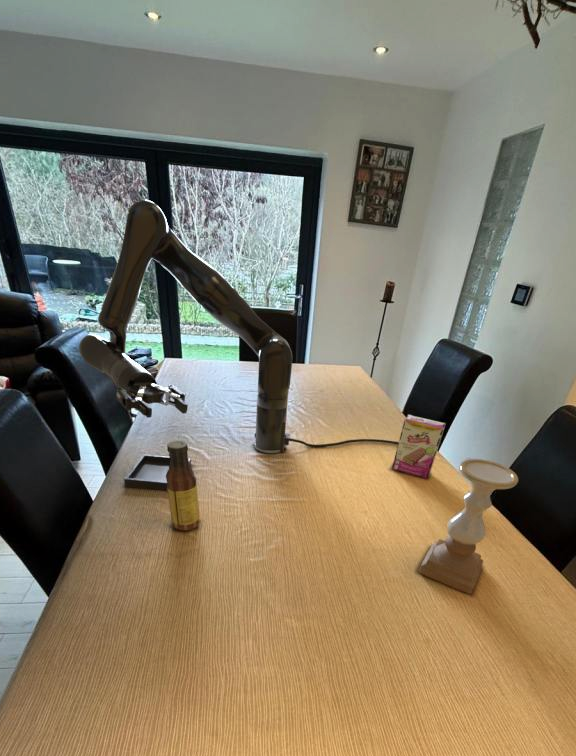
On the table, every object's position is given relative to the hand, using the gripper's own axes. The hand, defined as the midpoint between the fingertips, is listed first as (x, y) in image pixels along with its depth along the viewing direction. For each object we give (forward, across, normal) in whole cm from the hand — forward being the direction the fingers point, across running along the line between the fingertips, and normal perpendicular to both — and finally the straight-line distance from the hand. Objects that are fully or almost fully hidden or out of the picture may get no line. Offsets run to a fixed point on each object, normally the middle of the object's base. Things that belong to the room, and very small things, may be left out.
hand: (168, 411), depth 90 cm
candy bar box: (+30, +66, +13) cm, 74 cm away
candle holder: (+60, +34, +11) cm, 70 cm away
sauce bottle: (+14, -2, +21) cm, 25 cm away
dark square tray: (-10, +5, +24) cm, 27 cm away
